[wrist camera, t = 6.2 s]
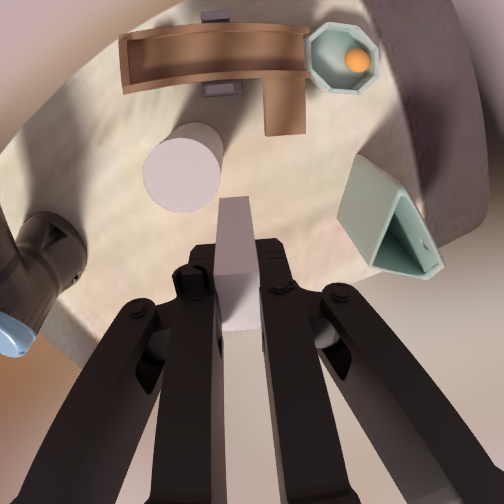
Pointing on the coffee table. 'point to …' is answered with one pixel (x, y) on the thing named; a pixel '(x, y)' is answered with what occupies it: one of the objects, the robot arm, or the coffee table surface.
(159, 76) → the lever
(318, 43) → the bowl
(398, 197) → the planter
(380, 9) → the coffee table surface
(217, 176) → the pale pink cylinder
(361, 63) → the ball
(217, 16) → the fulcrum
